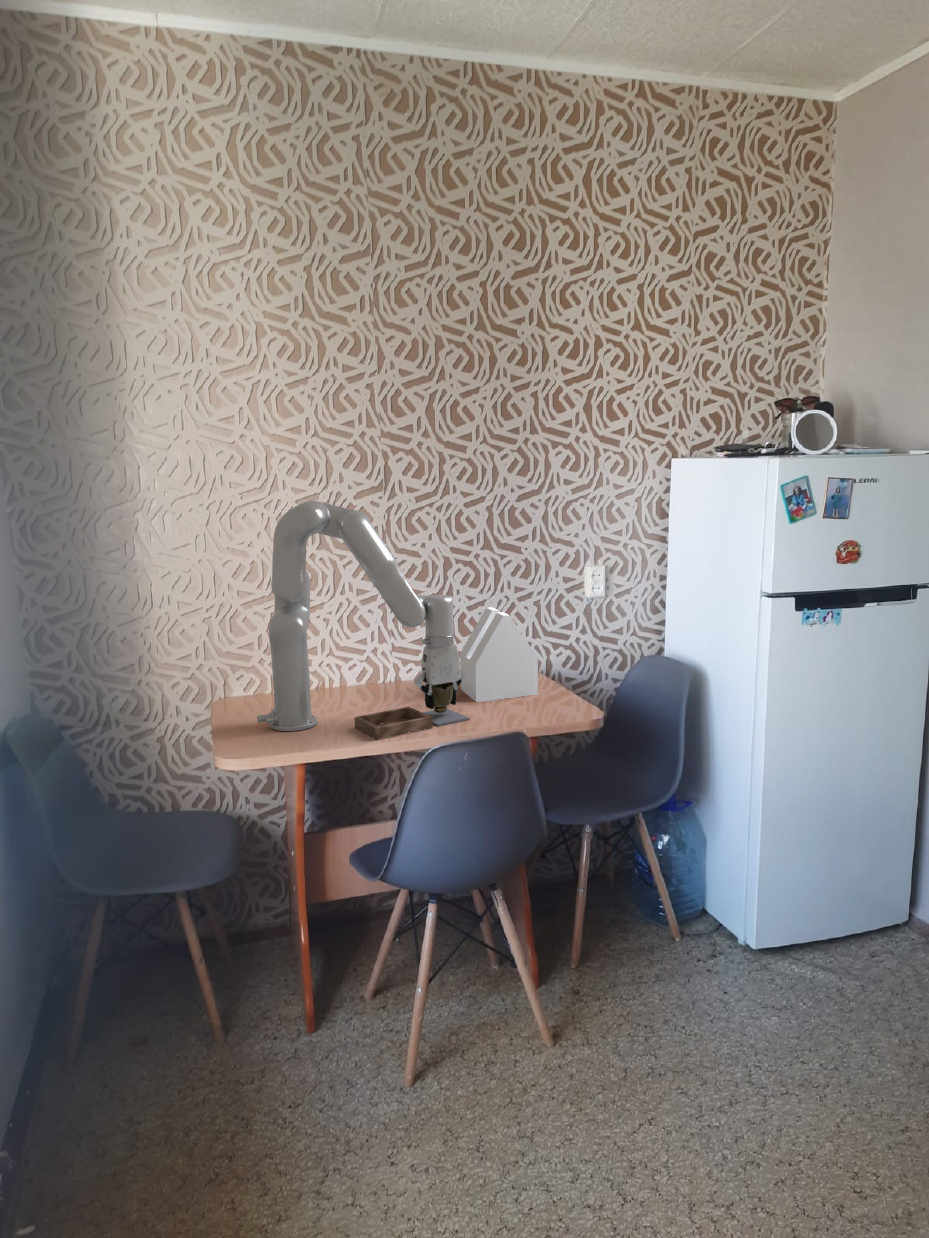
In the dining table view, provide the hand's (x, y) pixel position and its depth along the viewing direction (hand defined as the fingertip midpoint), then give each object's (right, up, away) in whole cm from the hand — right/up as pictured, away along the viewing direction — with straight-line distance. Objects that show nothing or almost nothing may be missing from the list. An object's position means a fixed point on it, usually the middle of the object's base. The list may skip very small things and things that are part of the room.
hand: (440, 705), depth 229 cm
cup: (0, -2, 0) cm, 2 cm away
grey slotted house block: (+17, +1, +26) cm, 31 cm away
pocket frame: (-12, -5, -8) cm, 15 cm away
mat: (0, -3, +1) cm, 4 cm away
